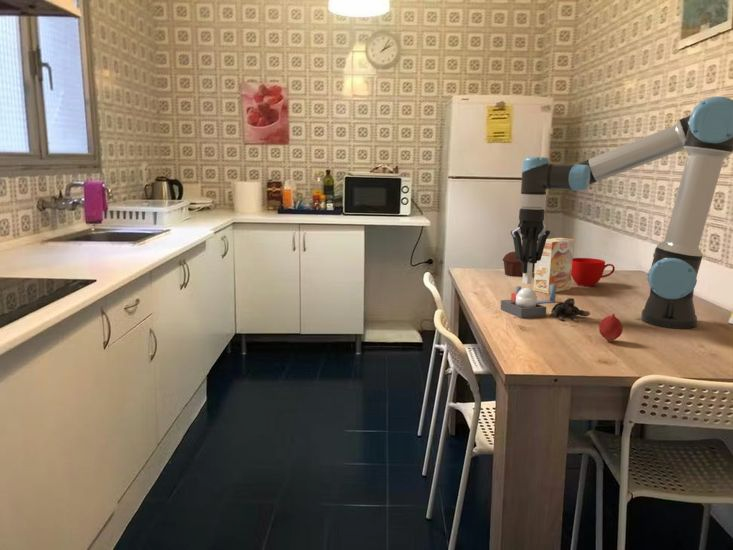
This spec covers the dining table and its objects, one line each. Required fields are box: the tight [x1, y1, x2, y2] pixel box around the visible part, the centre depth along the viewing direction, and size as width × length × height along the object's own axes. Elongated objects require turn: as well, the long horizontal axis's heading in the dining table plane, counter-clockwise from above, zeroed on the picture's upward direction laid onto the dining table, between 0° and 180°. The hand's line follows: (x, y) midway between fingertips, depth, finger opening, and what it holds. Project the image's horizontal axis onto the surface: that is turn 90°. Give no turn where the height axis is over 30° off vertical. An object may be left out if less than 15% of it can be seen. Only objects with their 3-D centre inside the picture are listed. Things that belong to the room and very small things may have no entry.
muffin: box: [502, 251, 523, 278], centre depth 253 cm, size 12×11×10 cm
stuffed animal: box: [549, 297, 591, 323], centre depth 184 cm, size 12×10×12 cm
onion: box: [598, 312, 624, 343], centre depth 157 cm, size 6×6×8 cm
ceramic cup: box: [571, 257, 616, 288], centre depth 232 cm, size 13×17×10 cm
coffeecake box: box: [532, 237, 575, 295], centre depth 221 cm, size 15×7×20 cm, turn 129°
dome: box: [516, 287, 538, 308], centre depth 185 cm, size 6×6×6 cm
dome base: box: [500, 292, 547, 319], centre depth 187 cm, size 12×9×5 cm
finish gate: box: [514, 284, 557, 304], centre depth 201 cm, size 2×16×6 cm, turn 108°
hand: (526, 283), depth 184 cm, fingers closed
